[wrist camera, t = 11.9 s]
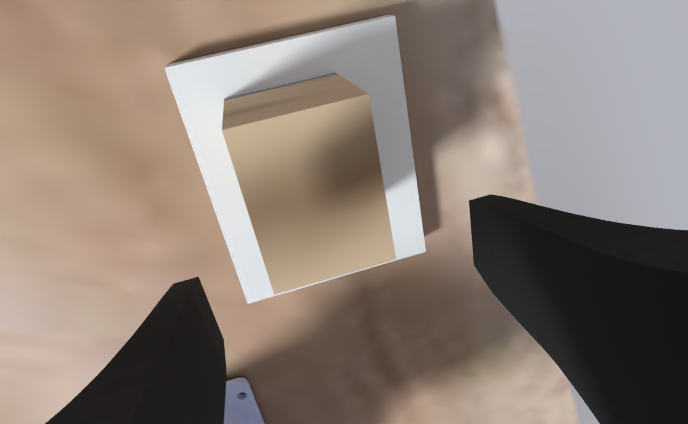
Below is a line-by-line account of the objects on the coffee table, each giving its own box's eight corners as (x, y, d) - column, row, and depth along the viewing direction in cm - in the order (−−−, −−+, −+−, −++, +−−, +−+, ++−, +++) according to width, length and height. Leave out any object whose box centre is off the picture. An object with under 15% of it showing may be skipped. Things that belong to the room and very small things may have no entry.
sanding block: (361, 205, 21) (396, 259, 17) (264, 231, 20) (274, 294, 16) (335, 72, 18) (368, 94, 14) (223, 99, 18) (221, 129, 13)
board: (417, 240, 24) (425, 251, 23) (247, 289, 23) (247, 303, 22) (385, 15, 19) (394, 15, 18) (168, 63, 18) (164, 67, 17)
